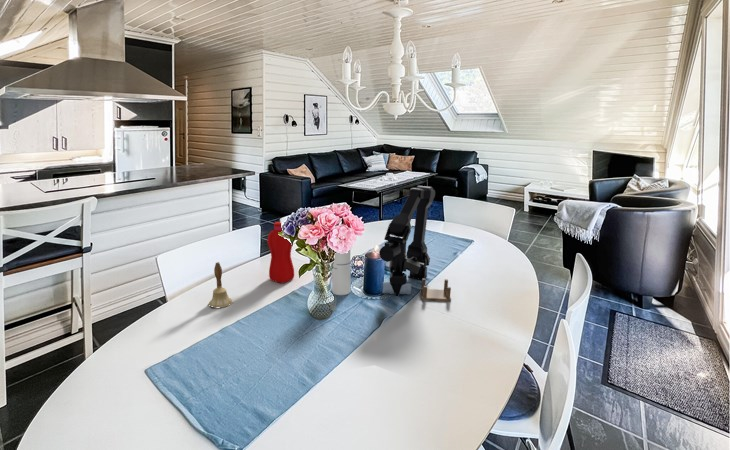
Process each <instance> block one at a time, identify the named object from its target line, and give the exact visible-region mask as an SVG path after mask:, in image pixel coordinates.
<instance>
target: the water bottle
mask: <svg viewBox="0 0 730 450" xmlns="http://www.w3.org/2000/svg"><path fill="white" fill-rule="evenodd" d="M280 222H281V221H275V222H274V223H273V228H274V229H273V230H271V231H269V233H268V235H267V241H266V242H267V246H268V248H269V251H270V256H271V258H270V263H269V271H268V276H269V280H271V281H273V282H276V283H279V284H285V283H288V282H289V281H291V280H293V279H294V277H295V268H294V264H293V260H292V256H291V255H292V253H291V252H292V248H293V244H292V245H291V243H290V242H289V241H288V240H287V239H284V238H283V237H281V236H279V235H278V232H281V231H282V228H281V223H280Z"/></svg>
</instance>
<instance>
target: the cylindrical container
mask: <svg viewBox="0 0 730 450" xmlns="http://www.w3.org/2000/svg"><path fill="white" fill-rule="evenodd" d="M351 249H352V248H351ZM351 249H350V250H349V251H348V253H347V254H340V253H336V254H335V261H334V264H333V271H332V270H331V272H332V273H331V279H332V280H331V285H332V287H331V288H332V293H333V295H337V296H346V295H349V294H350V293H351V252H352V251H351Z"/></svg>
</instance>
